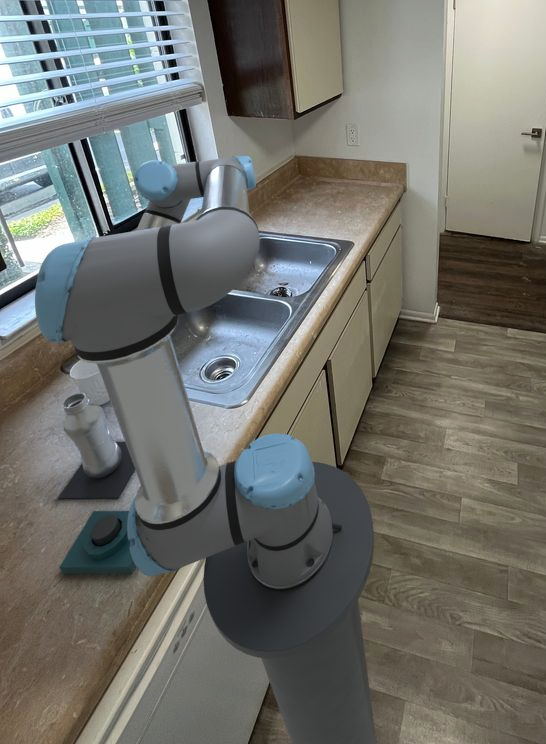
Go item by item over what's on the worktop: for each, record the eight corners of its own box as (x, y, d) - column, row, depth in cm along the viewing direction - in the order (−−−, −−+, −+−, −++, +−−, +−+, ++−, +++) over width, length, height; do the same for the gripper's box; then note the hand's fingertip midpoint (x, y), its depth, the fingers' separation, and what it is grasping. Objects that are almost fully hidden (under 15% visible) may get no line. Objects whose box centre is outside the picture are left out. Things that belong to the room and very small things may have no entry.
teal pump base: (159, 517, 83) (153, 504, 81) (132, 573, 75) (125, 561, 73) (97, 517, 83) (90, 505, 81) (63, 574, 75) (55, 561, 73)
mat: (150, 442, 97) (150, 441, 97) (118, 498, 86) (117, 497, 86) (97, 443, 97) (96, 441, 97) (58, 499, 86) (57, 497, 86)
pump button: (125, 520, 79) (122, 514, 78) (112, 545, 76) (108, 539, 75) (103, 521, 79) (100, 514, 78) (89, 546, 76) (85, 539, 75)
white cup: (75, 407, 106) (61, 377, 102) (100, 381, 113) (87, 352, 109) (105, 410, 105) (91, 380, 101) (127, 383, 112) (116, 354, 108)
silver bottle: (95, 456, 94) (62, 390, 85) (129, 450, 95) (100, 383, 86) (82, 486, 88) (45, 418, 80) (118, 478, 89) (86, 411, 81)
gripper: (211, 251, 95) (173, 351, 88) (127, 234, 103) (86, 324, 96) (186, 242, 88) (144, 350, 82) (98, 224, 96) (53, 321, 89)
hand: (113, 336), depth 89 cm, fingers open, 13 cm apart
